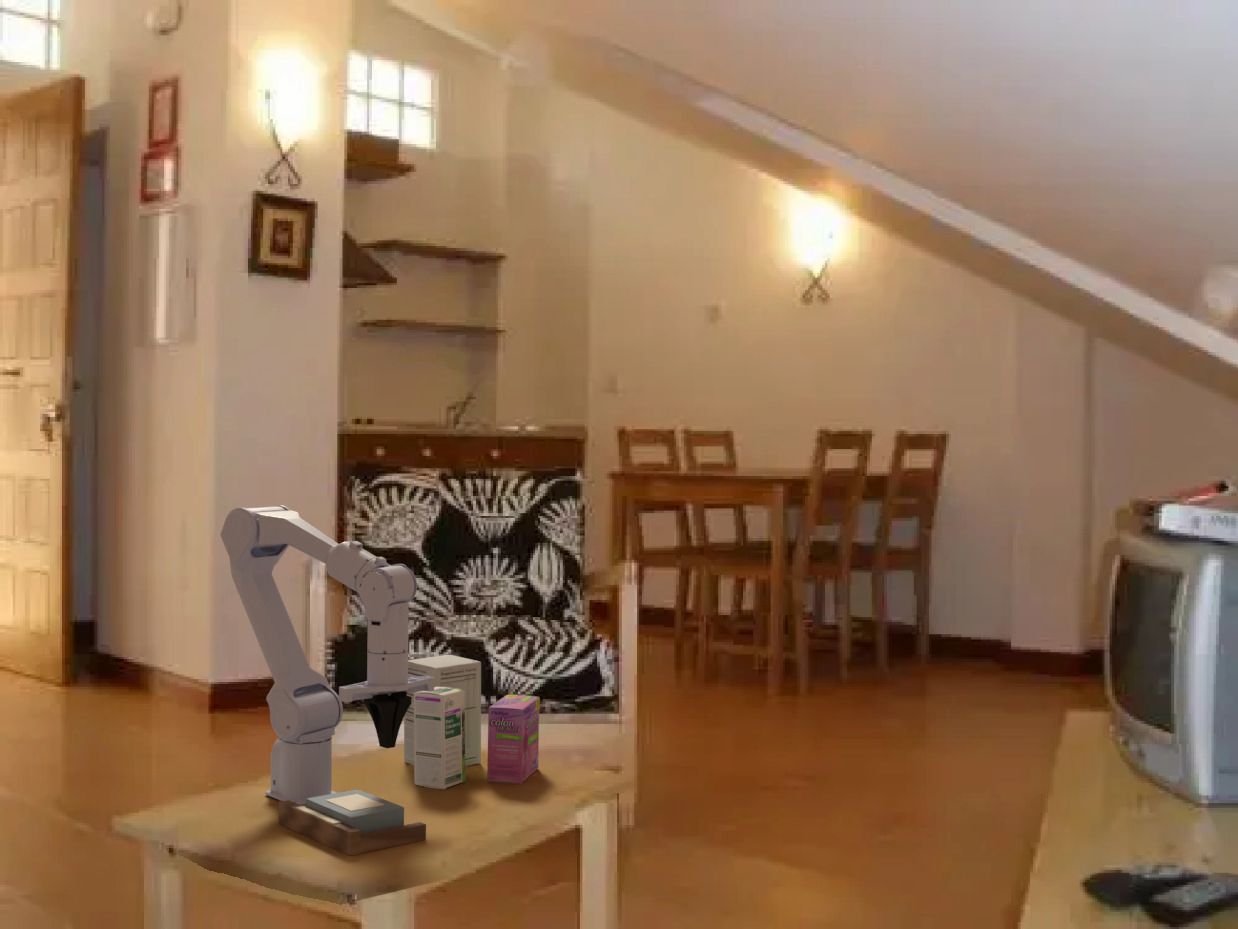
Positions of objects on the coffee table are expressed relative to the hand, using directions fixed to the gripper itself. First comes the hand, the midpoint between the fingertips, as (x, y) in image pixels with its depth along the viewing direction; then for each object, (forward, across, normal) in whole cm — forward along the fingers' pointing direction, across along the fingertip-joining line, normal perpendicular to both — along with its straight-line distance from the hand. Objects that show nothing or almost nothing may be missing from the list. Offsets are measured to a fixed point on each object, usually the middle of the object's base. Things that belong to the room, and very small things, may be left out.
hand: (387, 746), depth 202 cm
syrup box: (+10, +15, +9) cm, 20 cm away
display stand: (+9, -9, -5) cm, 14 cm away
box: (+10, +27, +6) cm, 29 cm away
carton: (+10, -9, -6) cm, 15 cm away
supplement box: (+10, +23, +20) cm, 32 cm away
